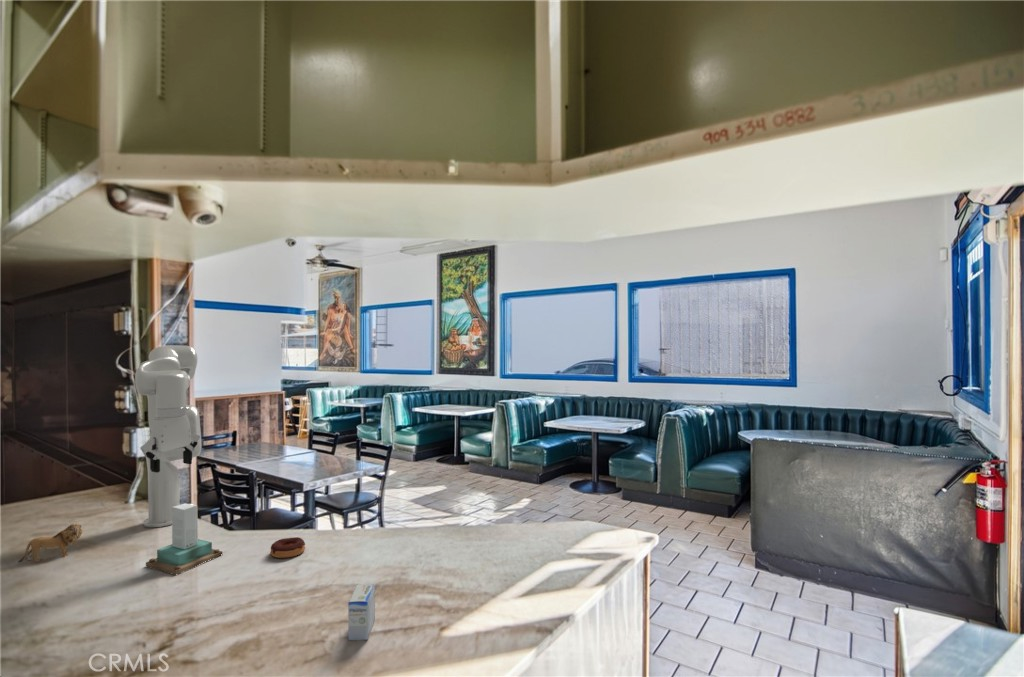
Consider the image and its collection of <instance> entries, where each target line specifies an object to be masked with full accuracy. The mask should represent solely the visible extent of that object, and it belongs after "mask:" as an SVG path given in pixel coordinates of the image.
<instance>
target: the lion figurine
mask: <svg viewBox="0 0 1024 677" xmlns="http://www.w3.org/2000/svg"><path fill="white" fill-rule="evenodd" d="M82 534H83V529H82V524H79V523H72V524H70V525H68V526H67V527H66V528H65V529H63V530H61V531H59V532H58V533H56V535H53V536H47V537H43V536H39V537H35V538H33V539H32V540H31V541H29V543H27V546H26V548H25V552H24V554H23V557H22V558H20V560H18V561H17V563H22V562H23V561H24V560H25V559H26V560H27V561H32V560H34V561H35V562H36V563H37V562H38V563H39V562H41V561H42V558H38V554H39V552H40V549H41V548H43V549H45V550H53V549H57V548H59V549H60V554H61V556H62V557H63V558H64V557H65V556H66V557H68V556H69V554H68V551H66V550H67V547H68V546H70V545H71V546H72V545H74V543H75V542H76V540H78V539H80V537H81V536H82Z"/></svg>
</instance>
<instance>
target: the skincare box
mask: <svg viewBox="0 0 1024 677" xmlns="http://www.w3.org/2000/svg"><path fill="white" fill-rule="evenodd" d="M191 504H192V503H185V502H184V503H180V505H178V506H174V507H172V524H171V528H172V529H171V530H172V532H171V534H172V536H171V538H172V540H171V542H172V543H171V544H172V546H173V547H177V548H181V549H187V548H190V547H192V546H195V545H197V544H198V539H199V538H198V536H199V533H198V532H199V531H198V528H199V527H198V525H199V524H198V505H196V504H193V505H191Z"/></svg>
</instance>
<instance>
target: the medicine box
mask: <svg viewBox="0 0 1024 677" xmlns="http://www.w3.org/2000/svg"><path fill="white" fill-rule="evenodd" d="M375 599H376V585H375V584H369V583H368V584H356V585H355V588H354V590H353V592H352V595H351V596H350V598H349V602H348V604H347V605H348V606H347V607H348V608H347V610H348V611H347V612H348V613H347V614H348V615H347V616H348V620H347V622H348V624H347V625H348V626H347V627H348V636H347V637H348V641H365V640H369V638H370V634H371V633H372V632H371V631H372V628H373V625H374V622H375V618H376V600H375Z"/></svg>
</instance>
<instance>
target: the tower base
mask: <svg viewBox="0 0 1024 677" xmlns="http://www.w3.org/2000/svg"><path fill="white" fill-rule="evenodd" d="M221 554H222V555H223V551H222V550H220V549H214V548H213V542H212V541H207V540H204V539H199V538H198V544H197V545H195V546H192V547H190V548H187V549H181V548H177V547H173V546H172V543H171V544H169V545H166V546H164V547H161V548H158V549H156V557H157V558H150V559H149V560H148V561H146V562H145V567H146V566H147V567H146V568H149V567H151V568H150V569H153V568H154V570H156V569H157V570H156V571H160V570H161V571H160V572H163V571H164V572H163V573H166V572H167V573H166V574H170V573H172V574H171V575H173V574H175V575H174V576H177V575H176V574H178V573H180V574H182V573H181V572H183V571H185V572H187V571H189V570H188V569H190V570H192V569H194V568H196V567H198V566H197V565H199V564H201V563H203V562H205V561H208V560H210V559H213V558H215V557H217V556H219V555H221ZM217 558H218V557H217ZM215 559H216V558H215ZM213 560H214V559H213ZM210 561H211V560H210ZM208 562H209V561H208ZM203 564H204V563H203ZM201 565H202V564H201ZM195 566H196V567H195ZM199 566H200V565H199ZM193 567H194V568H193ZM191 568H192V569H191ZM186 570H187V571H186ZM183 573H184V572H183ZM178 575H179V574H178Z"/></svg>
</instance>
